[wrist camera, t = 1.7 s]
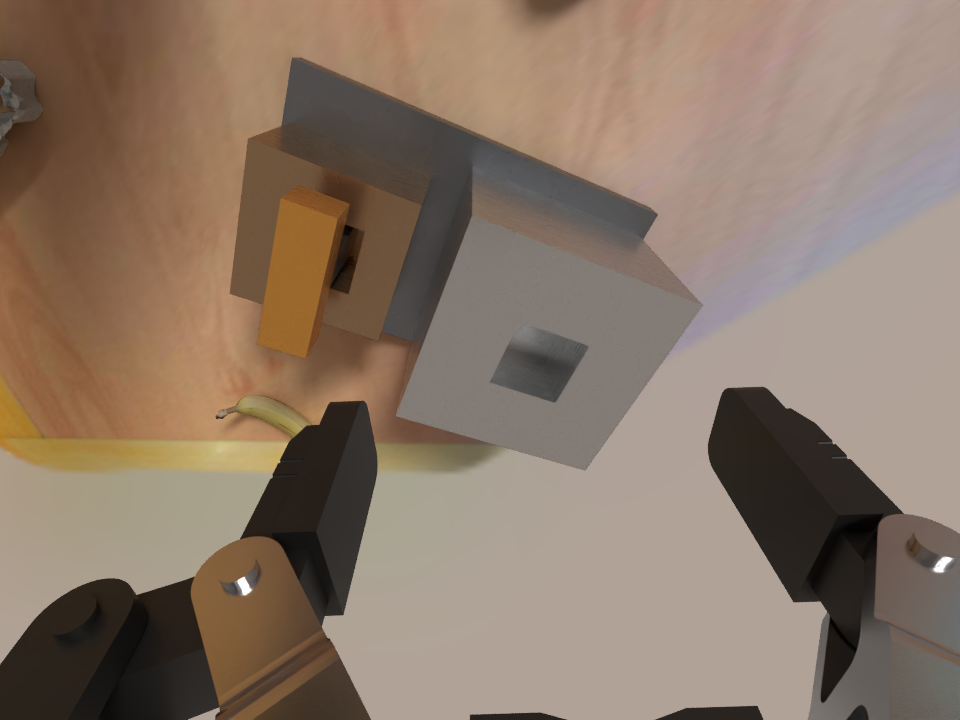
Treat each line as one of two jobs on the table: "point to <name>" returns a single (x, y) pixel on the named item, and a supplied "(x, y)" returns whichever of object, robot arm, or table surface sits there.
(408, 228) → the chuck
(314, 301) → the key
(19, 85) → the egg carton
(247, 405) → the banana
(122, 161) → the table surface
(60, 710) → the robot arm
